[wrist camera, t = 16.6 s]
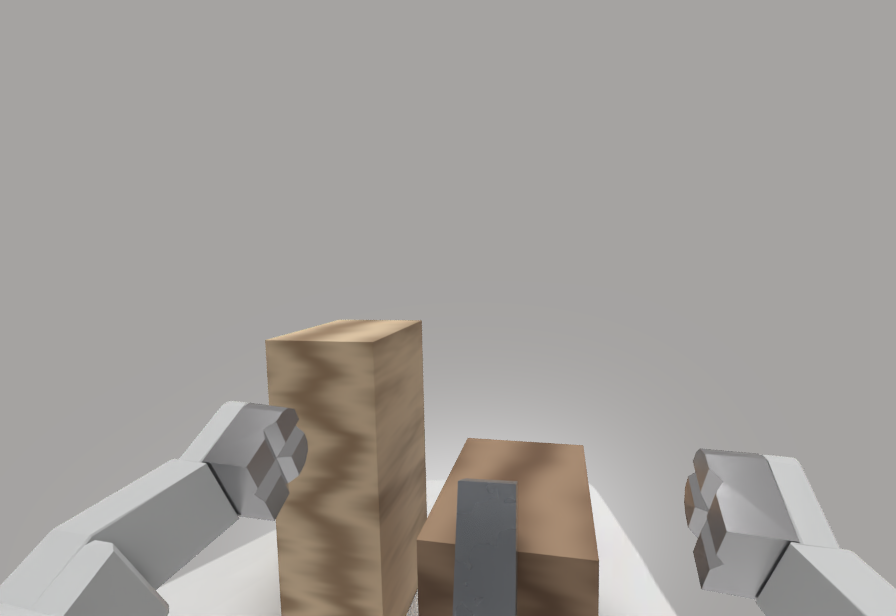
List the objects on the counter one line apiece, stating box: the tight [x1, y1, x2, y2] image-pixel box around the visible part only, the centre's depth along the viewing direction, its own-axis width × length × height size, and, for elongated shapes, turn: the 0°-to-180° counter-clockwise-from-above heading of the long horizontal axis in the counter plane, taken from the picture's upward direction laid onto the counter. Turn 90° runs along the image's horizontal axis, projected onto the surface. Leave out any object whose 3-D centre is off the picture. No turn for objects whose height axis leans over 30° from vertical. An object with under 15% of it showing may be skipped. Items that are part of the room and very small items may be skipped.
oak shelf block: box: [265, 320, 427, 616], centre depth 44 cm, size 9×13×26 cm
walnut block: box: [416, 438, 599, 616], centre depth 35 cm, size 10×16×16 cm, turn 167°
